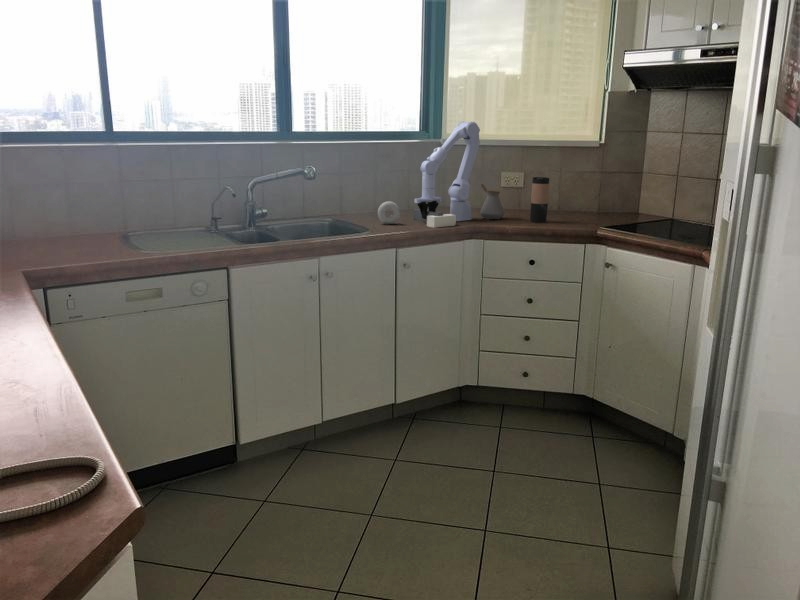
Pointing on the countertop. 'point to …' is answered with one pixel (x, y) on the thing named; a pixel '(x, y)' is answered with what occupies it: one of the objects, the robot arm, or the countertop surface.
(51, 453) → the countertop surface
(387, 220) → the donut
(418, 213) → the rail
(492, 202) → the coffee pot
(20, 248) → the countertop surface
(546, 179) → the travel mug
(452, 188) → the robot arm
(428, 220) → the cream u-shaped cradle
